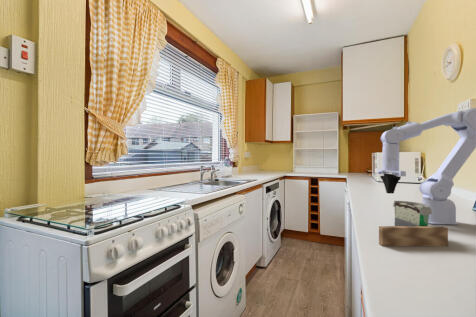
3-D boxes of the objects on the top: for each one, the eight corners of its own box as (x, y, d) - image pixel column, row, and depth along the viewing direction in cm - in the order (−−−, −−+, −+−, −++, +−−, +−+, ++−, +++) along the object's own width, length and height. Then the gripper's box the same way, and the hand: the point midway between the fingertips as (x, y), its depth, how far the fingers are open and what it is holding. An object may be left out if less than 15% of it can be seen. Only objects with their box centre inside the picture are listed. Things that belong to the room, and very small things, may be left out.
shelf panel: (443, 244, 65) (443, 226, 65) (448, 246, 63) (447, 228, 63) (378, 243, 65) (378, 226, 65) (382, 245, 63) (382, 227, 63)
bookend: (397, 233, 75) (397, 217, 75) (421, 244, 65) (421, 226, 65) (378, 232, 75) (378, 217, 75) (400, 244, 65) (400, 226, 65)
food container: (443, 243, 66) (443, 208, 66) (421, 242, 66) (421, 207, 66) (411, 230, 78) (411, 200, 78) (393, 230, 78) (393, 200, 78)
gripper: (370, 159, 100) (369, 190, 100) (392, 159, 86) (392, 195, 86) (386, 159, 100) (386, 190, 100) (411, 159, 86) (411, 196, 86)
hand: (390, 193), depth 93 cm, fingers closed
